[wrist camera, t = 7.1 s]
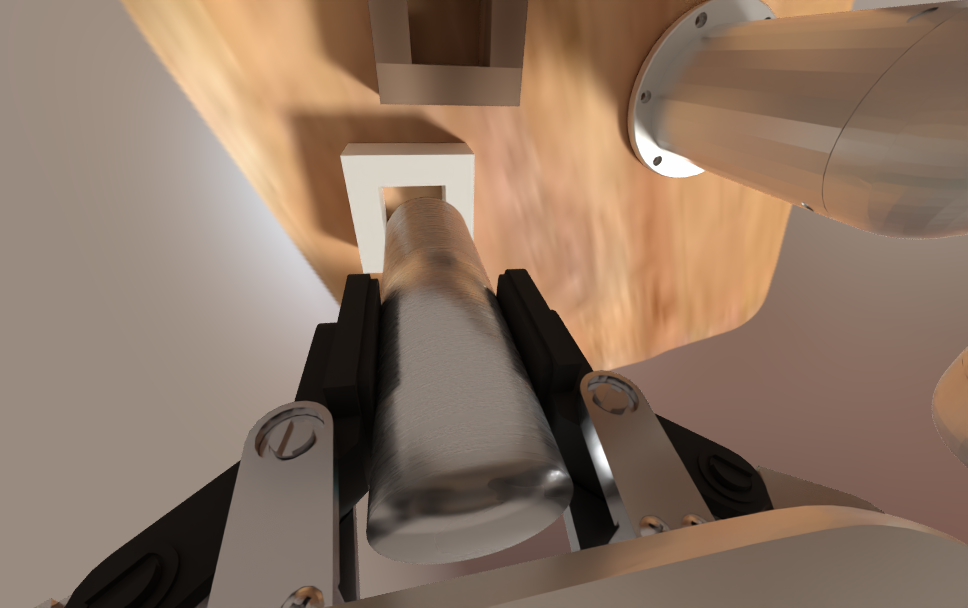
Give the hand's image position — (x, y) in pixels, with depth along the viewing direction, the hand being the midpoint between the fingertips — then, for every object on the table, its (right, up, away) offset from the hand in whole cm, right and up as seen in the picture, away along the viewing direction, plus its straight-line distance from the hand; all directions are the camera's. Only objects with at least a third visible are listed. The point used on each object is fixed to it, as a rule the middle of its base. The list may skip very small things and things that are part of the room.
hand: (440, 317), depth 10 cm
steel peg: (-1, +3, +4) cm, 5 cm away
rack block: (-5, +9, +19) cm, 22 cm away
